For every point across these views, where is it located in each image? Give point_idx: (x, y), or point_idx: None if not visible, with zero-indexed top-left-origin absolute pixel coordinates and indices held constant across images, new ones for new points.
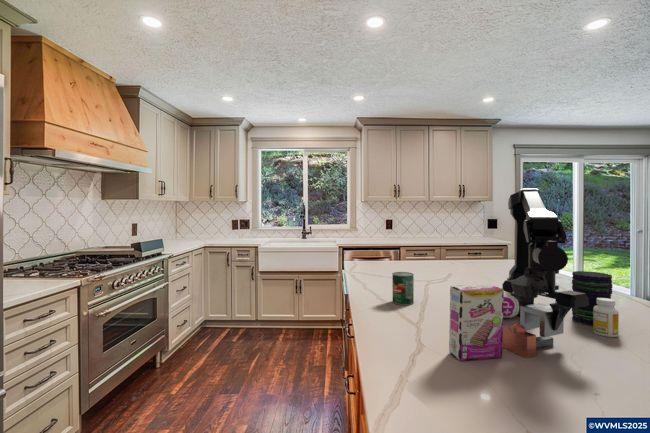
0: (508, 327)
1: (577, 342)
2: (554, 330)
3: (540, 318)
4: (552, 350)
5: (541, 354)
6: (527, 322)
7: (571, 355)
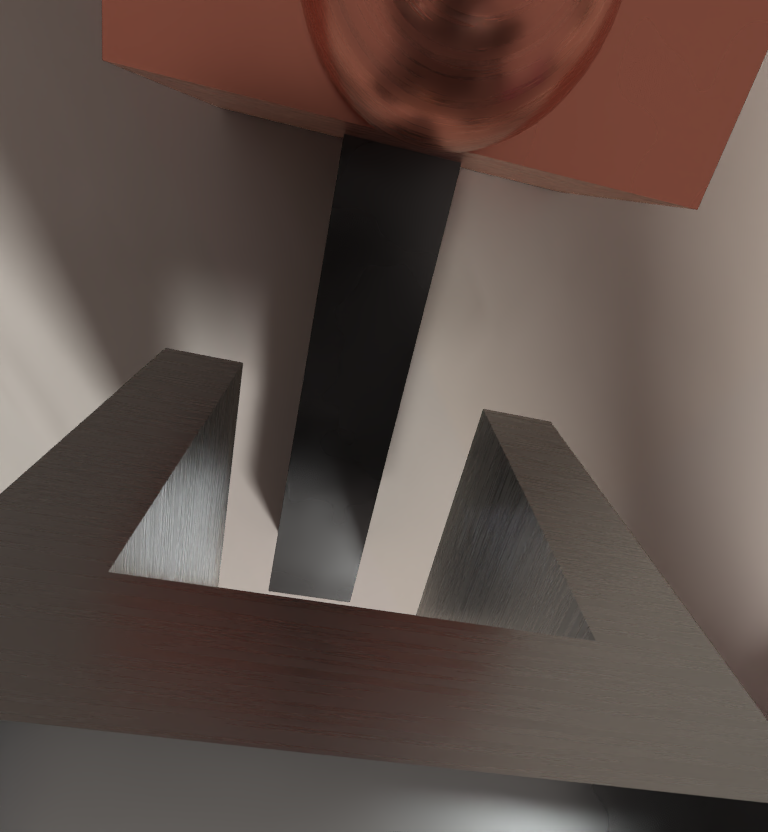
0: (688, 51)
1: None
2: None
3: (115, 527)
4: None
5: (219, 226)
6: (486, 530)
7: None
